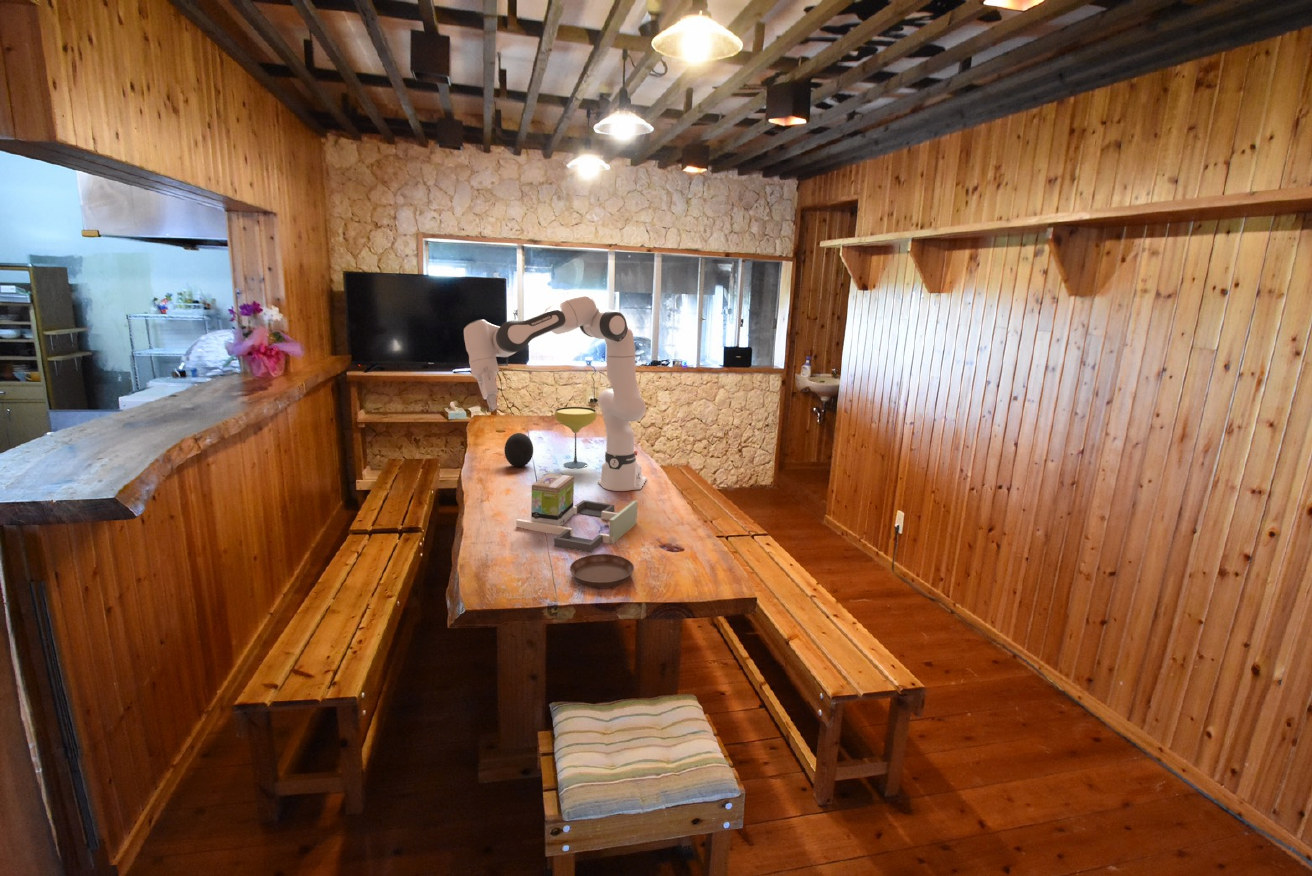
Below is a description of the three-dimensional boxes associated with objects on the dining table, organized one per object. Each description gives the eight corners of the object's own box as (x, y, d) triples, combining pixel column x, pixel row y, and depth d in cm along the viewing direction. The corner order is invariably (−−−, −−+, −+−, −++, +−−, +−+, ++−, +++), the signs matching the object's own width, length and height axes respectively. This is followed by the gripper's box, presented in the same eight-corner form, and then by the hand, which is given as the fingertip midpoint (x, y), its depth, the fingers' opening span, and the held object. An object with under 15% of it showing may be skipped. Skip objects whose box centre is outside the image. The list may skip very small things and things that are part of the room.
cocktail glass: (602, 463, 290) (603, 409, 284) (582, 473, 274) (582, 416, 268) (569, 458, 297) (569, 405, 291) (547, 467, 281) (546, 411, 275)
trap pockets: (583, 506, 232) (583, 500, 231) (635, 514, 225) (635, 508, 225) (531, 541, 198) (531, 534, 198) (590, 552, 192) (590, 544, 191)
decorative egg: (499, 468, 276) (498, 434, 273) (513, 461, 288) (513, 429, 284) (525, 471, 273) (524, 437, 269) (538, 464, 284) (538, 431, 281)
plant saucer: (608, 597, 165) (609, 587, 164) (556, 580, 174) (556, 569, 173) (645, 573, 179) (646, 563, 179) (595, 558, 188) (595, 549, 188)
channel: (547, 508, 229) (546, 487, 227) (636, 523, 217) (637, 500, 216) (516, 527, 210) (515, 504, 208) (612, 544, 199) (613, 520, 197)
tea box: (559, 530, 209) (559, 487, 205) (530, 527, 210) (529, 484, 207) (574, 515, 223) (574, 474, 220) (547, 512, 225) (546, 472, 221)
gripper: (496, 363, 203) (506, 406, 203) (492, 371, 222) (500, 410, 223) (476, 366, 201) (486, 409, 201) (473, 374, 220) (482, 413, 221)
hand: (493, 410), depth 212 cm, fingers open, 8 cm apart
